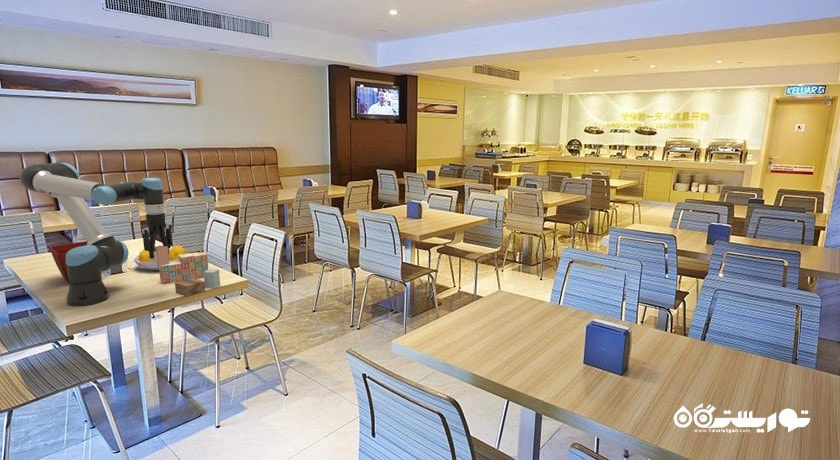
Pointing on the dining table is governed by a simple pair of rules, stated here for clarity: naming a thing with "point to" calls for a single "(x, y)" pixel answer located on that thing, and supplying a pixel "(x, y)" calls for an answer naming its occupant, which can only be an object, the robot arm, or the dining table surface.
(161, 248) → the terracotta block
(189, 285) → the walnut base
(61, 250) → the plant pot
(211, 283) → the greyblue block
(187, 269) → the stack of blocks
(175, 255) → the fruit bowl
